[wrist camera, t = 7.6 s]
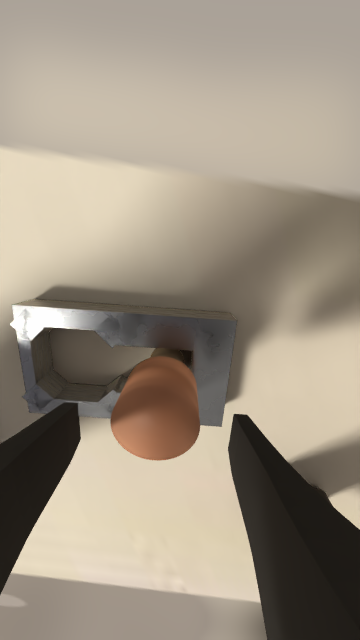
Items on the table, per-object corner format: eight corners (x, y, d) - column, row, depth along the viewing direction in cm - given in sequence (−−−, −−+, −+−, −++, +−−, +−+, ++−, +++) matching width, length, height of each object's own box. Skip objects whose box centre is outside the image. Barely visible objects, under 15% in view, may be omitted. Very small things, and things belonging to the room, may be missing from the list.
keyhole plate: (42, 394, 17) (24, 412, 15) (29, 298, 15) (6, 304, 13) (217, 407, 17) (221, 426, 15) (230, 312, 15) (237, 320, 13)
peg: (142, 385, 17) (116, 460, 11) (137, 335, 16) (104, 387, 9) (195, 384, 17) (200, 460, 10) (194, 334, 15) (199, 385, 9)
